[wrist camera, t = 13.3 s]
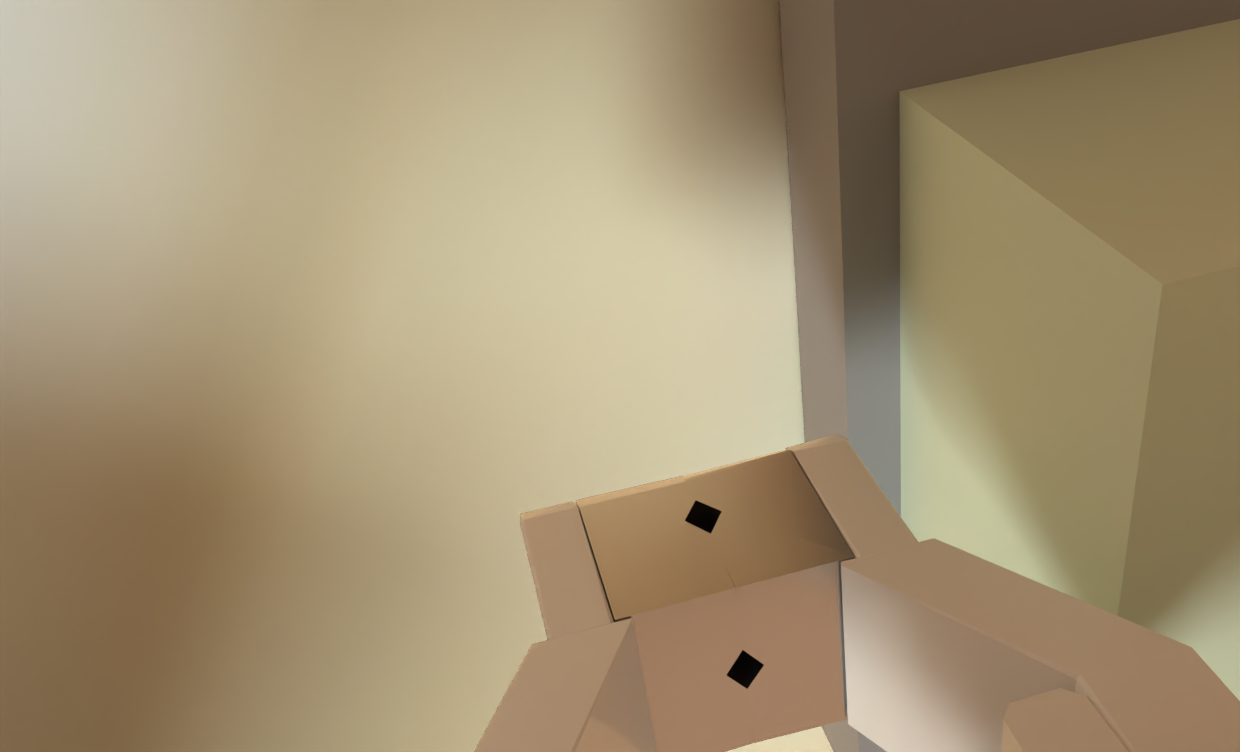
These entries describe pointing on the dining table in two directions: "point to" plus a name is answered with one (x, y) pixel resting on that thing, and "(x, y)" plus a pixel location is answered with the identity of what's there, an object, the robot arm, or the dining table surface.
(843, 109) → the boss board
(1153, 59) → the cream rectangular bar
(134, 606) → the dining table surface
